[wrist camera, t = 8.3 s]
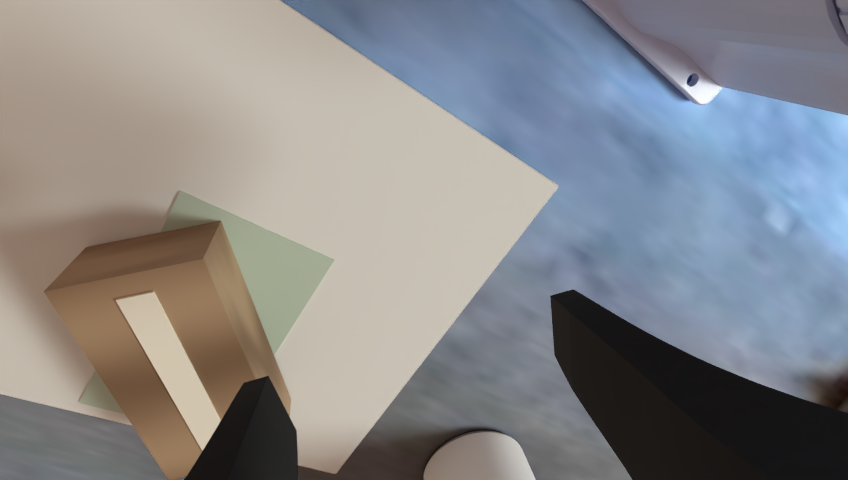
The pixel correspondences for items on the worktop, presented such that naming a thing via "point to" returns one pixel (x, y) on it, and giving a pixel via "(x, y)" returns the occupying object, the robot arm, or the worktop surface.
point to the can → (479, 458)
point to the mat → (245, 193)
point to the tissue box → (168, 334)
